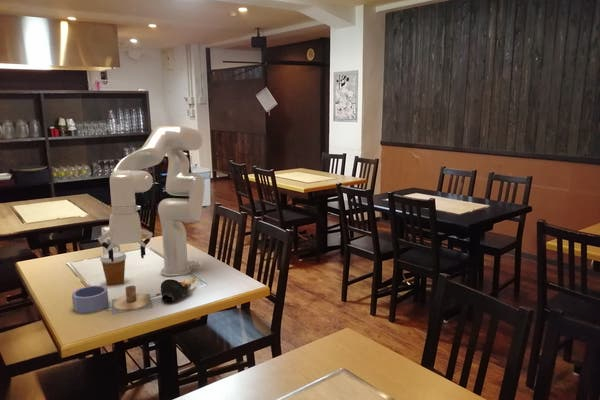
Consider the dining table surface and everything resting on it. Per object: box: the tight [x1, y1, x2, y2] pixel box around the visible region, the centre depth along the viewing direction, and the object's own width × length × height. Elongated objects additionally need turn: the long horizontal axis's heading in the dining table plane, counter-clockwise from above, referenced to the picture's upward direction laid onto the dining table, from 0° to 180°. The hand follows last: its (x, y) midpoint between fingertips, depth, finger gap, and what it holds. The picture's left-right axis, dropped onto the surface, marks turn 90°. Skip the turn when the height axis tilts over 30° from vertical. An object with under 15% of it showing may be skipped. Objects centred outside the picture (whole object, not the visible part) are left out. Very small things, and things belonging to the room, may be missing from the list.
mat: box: [111, 293, 154, 315], centre depth 158 cm, size 13×13×1 cm
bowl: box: [71, 284, 109, 314], centre depth 156 cm, size 11×11×6 cm
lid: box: [113, 285, 150, 312], centre depth 158 cm, size 12×12×6 cm
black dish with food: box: [160, 277, 197, 304], centre depth 165 cm, size 9×11×18 cm
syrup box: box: [101, 225, 121, 254], centre depth 209 cm, size 6×6×14 cm
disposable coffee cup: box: [99, 251, 127, 287], centre depth 177 cm, size 10×10×12 cm
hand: (127, 259), depth 155 cm, fingers open, 9 cm apart
